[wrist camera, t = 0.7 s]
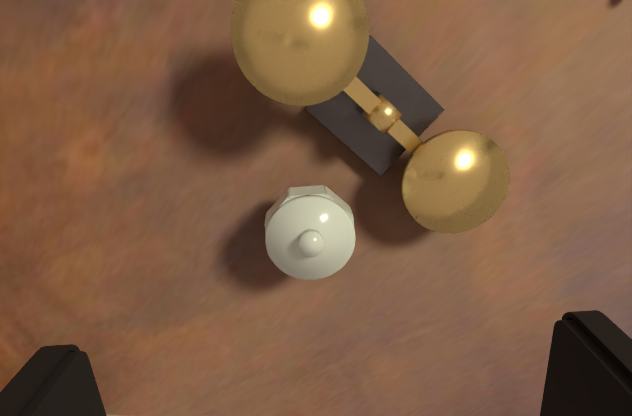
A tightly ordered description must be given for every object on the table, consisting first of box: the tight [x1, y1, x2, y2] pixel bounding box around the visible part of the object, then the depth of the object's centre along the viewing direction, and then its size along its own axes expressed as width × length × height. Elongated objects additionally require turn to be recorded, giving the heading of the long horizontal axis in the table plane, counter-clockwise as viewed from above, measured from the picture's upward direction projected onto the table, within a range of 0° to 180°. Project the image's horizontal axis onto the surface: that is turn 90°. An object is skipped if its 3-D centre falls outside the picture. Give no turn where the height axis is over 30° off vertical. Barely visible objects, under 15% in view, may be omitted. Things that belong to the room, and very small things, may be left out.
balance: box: [231, 0, 509, 234], centre depth 30 cm, size 8×23×8 cm, turn 48°
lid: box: [264, 185, 355, 280], centre depth 32 cm, size 7×7×4 cm
